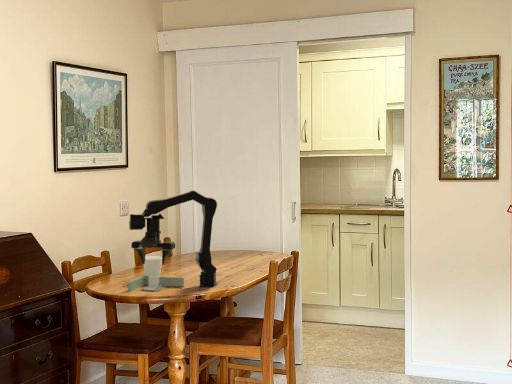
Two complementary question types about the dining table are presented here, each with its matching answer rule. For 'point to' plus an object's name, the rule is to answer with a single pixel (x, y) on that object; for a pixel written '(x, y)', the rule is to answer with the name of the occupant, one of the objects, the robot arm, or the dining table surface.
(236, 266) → the dining table surface
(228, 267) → the dining table surface
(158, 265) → the cup
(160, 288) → the pad
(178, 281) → the corner frame
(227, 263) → the dining table surface
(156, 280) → the bracket
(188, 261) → the dining table surface
